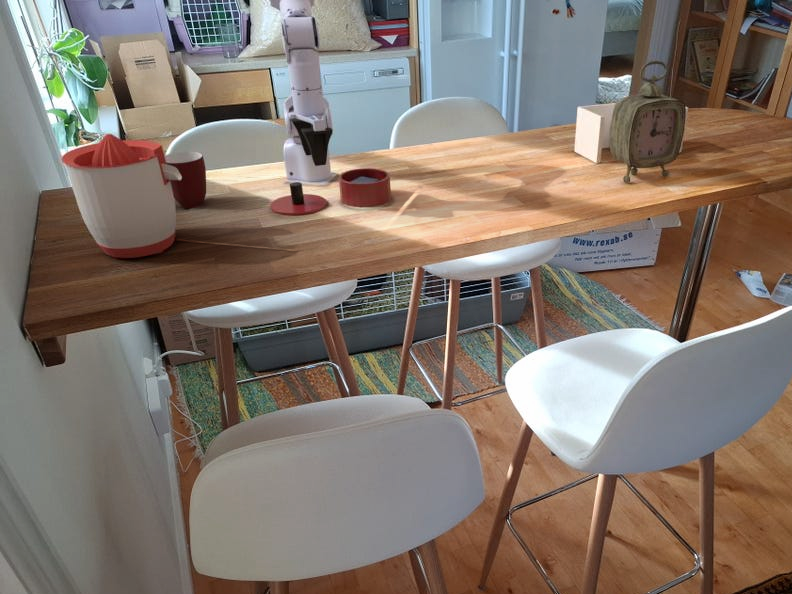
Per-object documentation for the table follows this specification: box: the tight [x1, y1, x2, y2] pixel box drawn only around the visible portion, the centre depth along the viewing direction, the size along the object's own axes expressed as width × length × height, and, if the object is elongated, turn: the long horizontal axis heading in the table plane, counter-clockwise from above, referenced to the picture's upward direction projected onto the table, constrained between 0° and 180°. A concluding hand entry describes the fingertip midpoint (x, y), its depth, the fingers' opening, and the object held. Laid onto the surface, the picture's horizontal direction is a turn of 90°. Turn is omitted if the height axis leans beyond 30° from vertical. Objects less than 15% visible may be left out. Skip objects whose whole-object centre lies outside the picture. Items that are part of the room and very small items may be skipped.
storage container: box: [573, 102, 689, 164], centre depth 174 cm, size 25×11×11 cm, turn 113°
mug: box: [164, 151, 207, 210], centre depth 139 cm, size 11×8×10 cm
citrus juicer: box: [61, 133, 182, 259], centre depth 119 cm, size 16×17×20 cm
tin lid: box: [269, 182, 328, 216], centre depth 140 cm, size 11×11×5 cm
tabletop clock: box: [609, 60, 686, 184], centre depth 153 cm, size 14×9×25 cm, turn 114°
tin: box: [338, 167, 392, 208], centre depth 143 cm, size 10×10×5 cm
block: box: [351, 177, 379, 183], centre depth 144 cm, size 4×4×4 cm
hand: (315, 159), depth 137 cm, fingers open, 7 cm apart
